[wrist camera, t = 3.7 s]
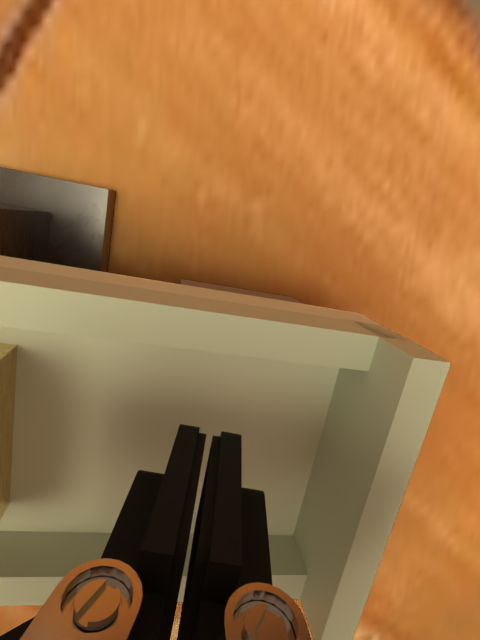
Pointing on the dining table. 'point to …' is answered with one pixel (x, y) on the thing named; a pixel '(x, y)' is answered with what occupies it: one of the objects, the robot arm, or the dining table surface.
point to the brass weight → (6, 419)
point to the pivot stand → (55, 220)
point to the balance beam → (207, 423)
